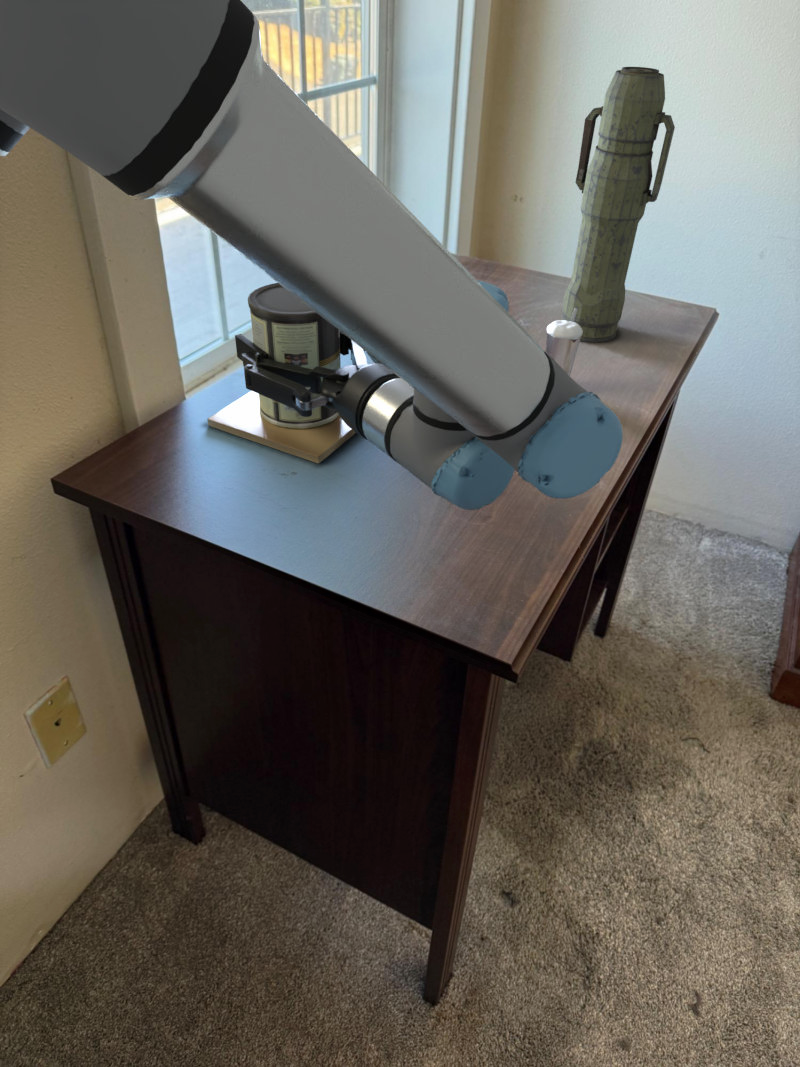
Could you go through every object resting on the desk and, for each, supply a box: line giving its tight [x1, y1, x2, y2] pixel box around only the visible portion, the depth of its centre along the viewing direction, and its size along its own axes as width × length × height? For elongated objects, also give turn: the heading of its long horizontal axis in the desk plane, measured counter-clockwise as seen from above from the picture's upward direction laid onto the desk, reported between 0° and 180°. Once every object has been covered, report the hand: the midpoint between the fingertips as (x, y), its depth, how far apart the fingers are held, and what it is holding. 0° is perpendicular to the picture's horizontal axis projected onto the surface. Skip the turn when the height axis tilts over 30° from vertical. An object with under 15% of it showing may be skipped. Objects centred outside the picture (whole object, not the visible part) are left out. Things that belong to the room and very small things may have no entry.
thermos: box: [561, 66, 676, 343], centre depth 106 cm, size 9×12×35 cm
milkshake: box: [544, 308, 583, 377], centre depth 98 cm, size 4×5×10 cm
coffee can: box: [247, 282, 342, 429], centre depth 88 cm, size 10×10×14 cm
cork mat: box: [206, 390, 357, 465], centre depth 92 cm, size 16×16×1 cm
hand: (278, 335), depth 90 cm, fingers closed on coffee can, 10 cm apart
